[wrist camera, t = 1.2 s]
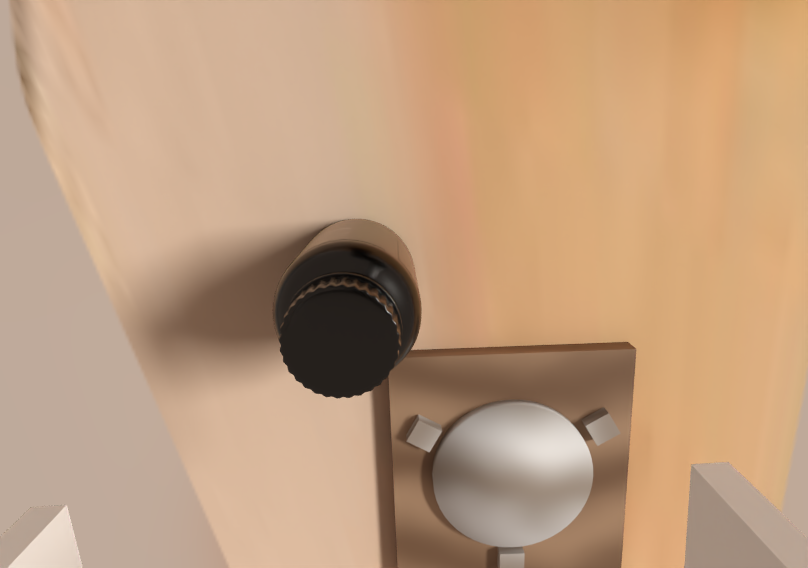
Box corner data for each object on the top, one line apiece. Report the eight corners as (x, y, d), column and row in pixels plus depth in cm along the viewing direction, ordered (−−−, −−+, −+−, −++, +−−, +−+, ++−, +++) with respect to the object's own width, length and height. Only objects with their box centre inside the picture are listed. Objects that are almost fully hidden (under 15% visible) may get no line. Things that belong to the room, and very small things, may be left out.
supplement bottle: (298, 321, 33) (243, 413, 21) (306, 211, 32) (252, 245, 20) (409, 333, 33) (414, 430, 22) (422, 224, 32) (436, 265, 20)
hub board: (387, 351, 34) (387, 363, 32) (627, 342, 34) (641, 353, 32) (398, 567, 37) (398, 590, 35) (613, 559, 37) (625, 581, 35)
